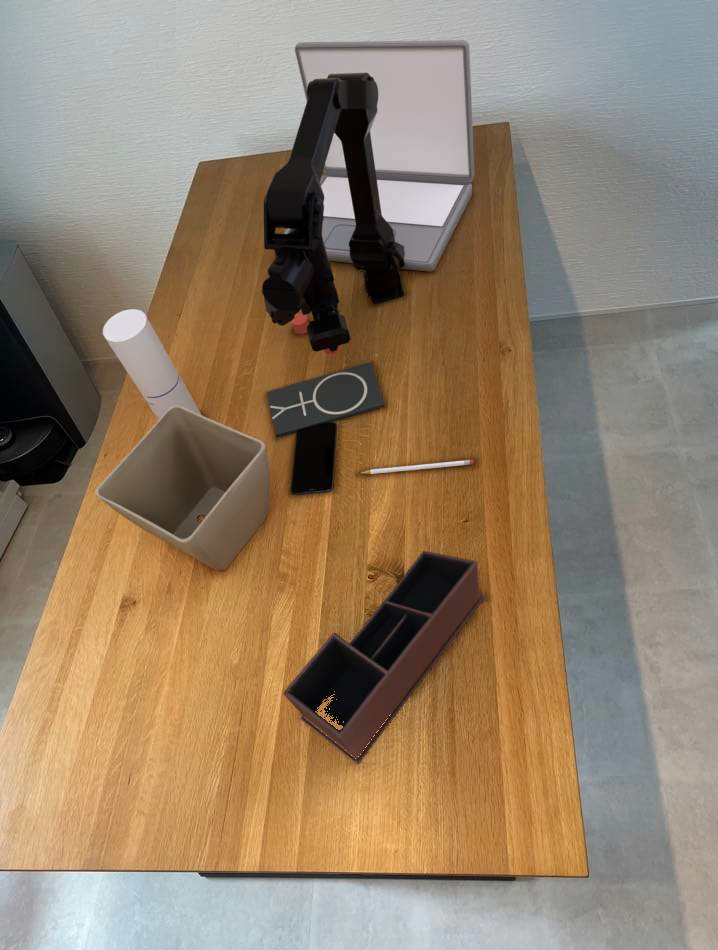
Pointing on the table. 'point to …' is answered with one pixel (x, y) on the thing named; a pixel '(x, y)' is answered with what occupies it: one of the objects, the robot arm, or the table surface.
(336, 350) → the dot
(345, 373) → the board
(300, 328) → the dot
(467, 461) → the pencil
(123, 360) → the cylindrical container
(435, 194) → the laptop
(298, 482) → the smartphone
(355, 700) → the desk organizer
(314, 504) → the table surface
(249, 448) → the flower pot
